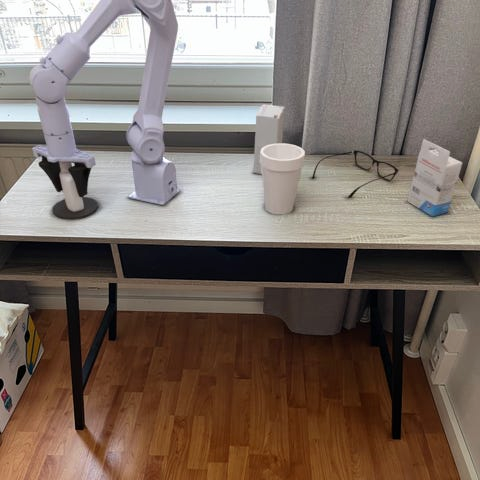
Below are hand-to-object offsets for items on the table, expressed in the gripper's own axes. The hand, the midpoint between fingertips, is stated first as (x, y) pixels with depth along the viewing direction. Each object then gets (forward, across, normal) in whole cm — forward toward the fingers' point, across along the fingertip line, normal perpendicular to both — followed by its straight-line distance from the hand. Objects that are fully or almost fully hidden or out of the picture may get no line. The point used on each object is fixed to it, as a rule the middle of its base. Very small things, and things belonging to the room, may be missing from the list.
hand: (72, 192), depth 110 cm
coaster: (+4, 0, 0) cm, 4 cm away
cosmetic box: (+4, +32, +38) cm, 50 cm away
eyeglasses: (+4, +54, +40) cm, 67 cm away
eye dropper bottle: (+4, 0, 0) cm, 4 cm away
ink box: (+4, +73, +33) cm, 80 cm away
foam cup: (+4, +42, +19) cm, 46 cm away
